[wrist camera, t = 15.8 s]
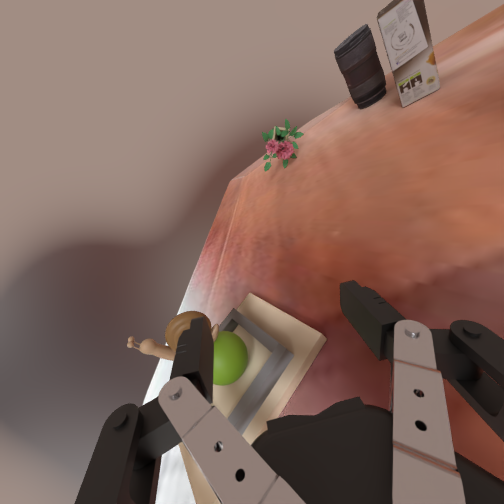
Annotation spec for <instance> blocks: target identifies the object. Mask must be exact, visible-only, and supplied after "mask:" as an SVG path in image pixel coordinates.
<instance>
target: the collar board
mask: <svg viewBox="0 0 504 504" xmlns="http://www.w3.org/2000/svg"><path fill="white" fill-rule="evenodd" d="M220 331H229V332H233V333H235V334H236V335H238V336H239V337H240V338H241V339H242V340H243V341H244V343H245V345H246V347H247V351H248V363H247V367H246V369H245V371H244V373H243V375H242V376H241V377H240V378H239V379H238V380H237V381H235V382H234V383H232V384H229V385H225V386H219V385H215V384H213V403H211V404H210V405H211V406H213V405H214V406H216V407H217V408H218V409H219V410H220V412H221V413H222V414H223V415H224V416H225V417H226V418H227V419H228V421H229V422H230V423H231V424H232V425H233V426H234V427H235V428H236V430H237V431H238V432H239V433H240V434H241V435H242V436H243V437H244V439H245V440H246V441H247V442H248V443H249V444H250V445H251V444H252V443H253V442H254V440H255V439H256V438H257V437H258V436H259V435H260V434H262V433H263V432H264V431H266V430H268V429H267V423H266V421H269V420H272V419H276V418H278V417H279V415H280V414H281V412H282V410H283V409H284V407H285V406H286V404H287V402H288V401H289V399H290V398H291V396H292V394H293V393H294V391H295V390H296V388H297V386H298V385H299V383H300V382H301V380H302V378H303V377H304V375H305V374H306V372H307V370H308V369H309V367H310V366H311V364H312V362H313V361H314V359H315V358H316V356H317V354H318V353H319V351H320V350H321V348H322V346H323V345H324V343H325V342H326V340H327V339H326V338H325V337H324V336H323V334H321V333H320V332H318V331H316V330H314V329H313V328H311V327H309V326H307V325H306V324H304V323H302V322H300V321H299V320H297V319H295V318H293V317H292V316H290V315H288V314H286V313H285V312H283V311H281V310H279V309H278V308H276V307H274V306H272V305H271V304H269V303H267V302H265V301H264V300H262V299H260V298H258V297H257V296H255V295H253V294H251V293H249V294H248V295H247V297H246V298H245V299H244V301H243V302H242V303H241V304H240V306H239V307H238V308H237V310H236V309H234V308H233V309H232V311H231V312H230V313H229V315H228V316H227V317H226V318H225V320H224V321H223V322H222V324H221V325H220V326H219V332H220ZM179 447H180V451H181V454H182V458H183V461H184V464H185V468H186V471H187V474H188V478H189V481H190V485H191V488H192V491H193V495H194V498H195V501H196V504H221V503H220V502H219V500H218V498H217V497H216V495H215V494H214V492H213V490H212V489H211V487H210V486H209V484H208V482H207V481H206V479H205V477H204V476H203V474H202V473H201V471H200V469H199V468H198V466H197V465H196V463H195V462H194V460H193V458H192V457H191V455H190V454H189V452H188V450H187V449H186V447H185V446H184V444H183V442H181V443H179Z"/></svg>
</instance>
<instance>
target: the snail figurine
mask: <svg viewBox="0 0 504 504" xmlns="http://www.w3.org/2000/svg"><path fill="white" fill-rule="evenodd" d="M202 316H205V317H206V319H207V322H208V325H209V328H210V331H211V333H212V336H213V341H214V369H213V384H215V385H219V386H225V385H229V384H232V383H234V382H235V381H237V380H238V379H239V378H240V377H241V376H242V375H243V373H244V371H245V369H246V367H247V363H248V351H247V347H246V345H245V343H244V341H243V340H242V339H241V338H240V337H239V336H238V335H236V334H235V333H233V332H229V331H220V332H219V325H218V324H215V325H214V326H213V327H212V329H211V322H210V320H209V318H208V317H207V316H206V315H204V314H203V313H201V312H197V311H187V312H184V313H181V314H179V315H177V316H176V317H175V318H173V319H172V320H171V321H170V322H169V324H168V326H167V328H166V331H165V338H166V342H167V344H168V345H169V346H165V345H162V344H158V343H156V342H155V340H153V339H146V340H144V341H143V342H142V343H141V344H139V343H136V342H135V341H134V337H129V338H128V341H129V342H128V344H127V346H128V347H129V348H131V347H134V346H133V345H134V343H133V342H135V343H136V344H139V345H140V349H139V350H140V351H141V352H142V353H144V354H151V355H154V356H157V357H159V358H163V359H167V360H172V361H174V357H175V354H176V348H177V343H178V339H179V337H180V335H181V334H182V332H183V331H184V330H187V329H190V323H191V319H194V318H198V317H202ZM134 348H136V347H134ZM137 349H138V348H137Z"/></svg>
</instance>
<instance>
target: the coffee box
mask: <svg viewBox="0 0 504 504" xmlns="http://www.w3.org/2000/svg"><path fill="white" fill-rule="evenodd" d="M377 21H378V24H379V28H380V31H381V35H382V38H383V41H384V45H385V49H386V52H387V56H388V59H389V63H390V66H391V69H392V73H393V76H394V80H395V83H396V87H397V90H398V93H399V97H400V100H401V104H402V107H405V106H407V105H409V104H411V103H413V102H415V101H417V100H419V99H421V98H423V97H425V96H426V95H428V94H430V93H432V92H434V91H436V90H438V89H439V88H440V83H439V77H438V72H437V66H436V61H435V56H434V51H433V46H432V40H431V35H430V30H429V25H428V20H427V15H426V10H425V4H424V0H393V1H392V2H391V3H390V4H388V6H386V7H385V8H384V9H382V10H381V11H380V12H379V13H378V16H377Z"/></svg>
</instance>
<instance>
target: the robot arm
mask: <svg viewBox="0 0 504 504" xmlns="http://www.w3.org/2000/svg"><path fill="white" fill-rule="evenodd" d="M340 305H341V309H342V312H343V314H344V315H345V316H346V318H347V319H348V320H349V322H350V323H351V324H352V326H353V327H354V328H355V330H356V331H357V332H358V333H359V335H360V336H361V337H362V339H363V340H364V341H365V343H366V344H367V345H368V347H369V348H370V349H371V351H372V352H373V353H374V354H375V356H376V357H377V358H378V360H379V361H381V360H384V359H388V360H389V361H390V362H391V366H390V391H389V410H386V409H383V408H380V407H377V406H373V405H364V404H363V402H362V400H361V399H360V397H356V398H352V399H348V400H344V401H340V402H337V403H335V404H333V405H332V406H330V407H329V408H327V409H326V410H324V411H322V412H321V413H319V414H317V415H315V416H308V415H288V416H284V417H280V418H276V419H272V420H269V421H266V423H267V429H268V430H266V431H264V432H263V433H262V434H260V435H259V436H258V437H257V438H256V439H255V440H254V442H253V443H252V444H251V445H250V444H249V443H248V442H247V441H246V440H245V439H244V437H243V436H242V435H241V434H240V433H239V432H238V431H237V430H236V428H235V427H234V426H233V425H232V424H231V423H230V422H229V421H228V419H227V418H226V417H225V416H224V415H223V414H222V413H221V412H220V410H219V409H218V408H217V407H216V406H214V405H213V406H211V405H210V404H211V403H213V369H214V341H213V336H212V333H211V331H210V328H209V325H208V322H207V319H206V317H205V316H202V317H198V318H194V319H191V323H190V329H187V330H184V331H183V332H182V334H181V335H180V337H179V339H178V343H177V348H176V354H175V357H174V362H173V367H172V371H171V376H170V380H169V381H168V382H167V383H166V384H165V385H164V386H163V388H162V389H161V391H160V393H159V396H158V397H156V398H155V399H153V400H152V401H150V402H148V403H146V404H145V405H143V406H141V407H139V408H138V407H137V406H136V405H135V404H125V405H123V406H121V407H119V408H118V409H116V410H115V411H114V412H113V413H112V414H111V415H110V416H109V417H108V419H107V420H106V422H105V424H104V426H103V428H102V431H101V433H100V436H99V439H98V442H97V444H96V447H95V450H94V452H93V455H92V458H91V461H90V463H89V466H88V469H87V471H86V474H85V477H84V480H83V482H82V485H81V488H80V490H79V493H78V496H77V499H76V501H75V504H155V501H156V494H157V486H158V479H159V472H160V465H161V457H162V454H164V453H166V452H167V451H169V450H170V449H172V448H173V447H175V446H176V445H178V444H179V443H181V442H183V444H184V446H185V447H186V449H187V450H188V452H189V454H190V455H191V457H192V458H193V460H194V462H195V463H196V465H197V466H198V468H199V469H200V471H201V473H202V474H203V476H204V477H205V479H206V481H207V482H208V484H209V486H210V487H211V489H212V490H213V492H214V494H215V495H216V497H217V498H218V500H219V502H220V503H221V504H504V482H503V481H502V480H500V479H499V478H497V477H495V476H494V475H492V474H491V473H489V472H487V471H486V470H484V469H483V468H481V467H479V466H478V465H476V464H475V463H473V462H471V461H470V460H468V459H466V458H465V457H463V456H462V455H460V454H458V453H457V452H455V451H454V449H453V443H452V436H451V430H450V424H449V417H448V411H447V405H446V399H445V392H444V386H443V380H442V379H447V380H448V382H449V383H450V384H451V385H452V386H453V387H454V388H455V389H456V390H457V391H458V392H459V394H460V395H461V396H462V397H463V398H464V399H465V400H466V401H467V402H468V403H469V404H470V406H471V407H472V408H473V409H474V410H475V411H476V412H477V413H478V414H479V415H480V416H481V418H482V419H483V420H484V421H485V422H486V423H487V424H488V425H489V426H490V427H491V428H492V430H493V431H494V432H495V433H496V434H497V435H498V436H499V437H500V438H501V439H502V440H503V442H504V340H503V339H502V338H500V337H499V336H498V335H496V334H495V333H493V332H492V331H491V330H489V329H488V328H486V327H485V326H483V325H481V324H478V323H475V322H472V321H467V320H458V321H454V322H453V323H451V326H450V329H428V328H427V327H426V326H425V325H423V324H421V323H419V322H416V321H413V320H406V319H405V318H404V317H403V316H402V315H401V314H400V313H399V312H398V311H396V310H395V309H394V308H393V307H392V306H391V305H390V304H389V303H388V302H386V301H385V300H384V299H383V298H381V296H380V295H379V294H378V293H376V292H375V291H374V290H372V289H370V288H368V287H366V286H365V287H361V286H360V285H359V284H358V283H357V282H356V281H354V280H352V281H348V282H344V283H341V284H340ZM484 371H485V372H486V373H487V374H488V375H489V376H490V377H489V376H488V375H487V374H486V373H485V372H484ZM494 380H495V381H496V382H497V383H498V384H499V385H500V386H499V385H498V384H497V383H496V382H495V381H494Z"/></svg>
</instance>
